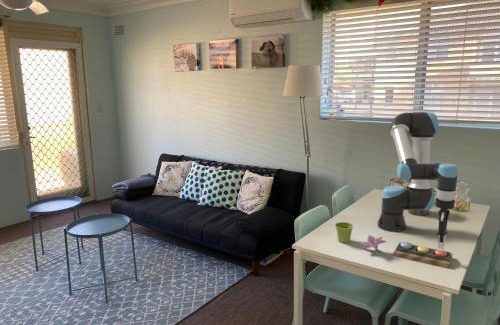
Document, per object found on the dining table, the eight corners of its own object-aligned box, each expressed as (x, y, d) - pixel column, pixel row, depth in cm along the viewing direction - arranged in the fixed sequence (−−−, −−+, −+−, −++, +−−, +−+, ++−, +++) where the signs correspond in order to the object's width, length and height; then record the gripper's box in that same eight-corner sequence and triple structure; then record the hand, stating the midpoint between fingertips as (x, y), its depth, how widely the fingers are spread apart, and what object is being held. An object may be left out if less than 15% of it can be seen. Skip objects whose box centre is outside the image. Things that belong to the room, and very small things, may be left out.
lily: (390, 254, 181) (385, 234, 184) (387, 254, 171) (382, 233, 174) (365, 257, 186) (361, 238, 189) (361, 257, 176) (356, 237, 179)
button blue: (399, 247, 178) (399, 244, 178) (401, 244, 182) (402, 241, 182) (410, 250, 175) (410, 247, 175) (412, 246, 179) (413, 243, 179)
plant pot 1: (342, 245, 189) (343, 229, 187) (330, 239, 197) (331, 224, 196) (356, 242, 193) (357, 226, 192) (344, 236, 202) (344, 220, 200)
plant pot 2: (406, 216, 229) (408, 191, 226) (402, 208, 245) (403, 184, 242) (435, 217, 226) (437, 192, 223) (428, 209, 241) (430, 185, 238)
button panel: (393, 255, 177) (393, 249, 176) (399, 246, 186) (399, 240, 186) (448, 268, 164) (449, 260, 163) (452, 257, 173) (452, 250, 173)
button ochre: (416, 252, 174) (416, 249, 174) (418, 248, 178) (418, 245, 178) (427, 254, 171) (428, 251, 171) (429, 250, 175) (430, 247, 175)
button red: (433, 255, 170) (434, 252, 169) (435, 251, 174) (435, 248, 173) (446, 258, 167) (446, 255, 167) (447, 254, 171) (447, 251, 171)
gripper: (453, 204, 158) (448, 255, 163) (456, 195, 168) (452, 244, 173) (433, 201, 162) (429, 251, 167) (438, 193, 172) (434, 240, 177)
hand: (441, 247), depth 170 cm, fingers closed
